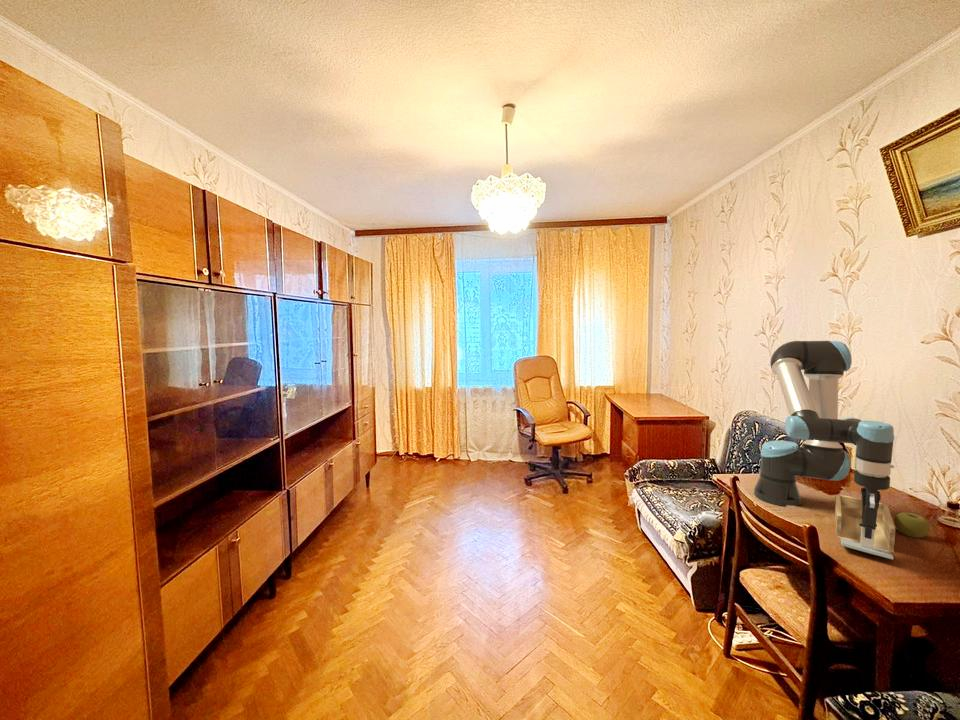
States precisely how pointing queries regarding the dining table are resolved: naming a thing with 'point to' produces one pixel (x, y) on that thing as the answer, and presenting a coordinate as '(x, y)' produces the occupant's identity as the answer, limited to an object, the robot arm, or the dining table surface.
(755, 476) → the dining table surface
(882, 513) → the crate
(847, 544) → the pale blue panel
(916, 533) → the apple
